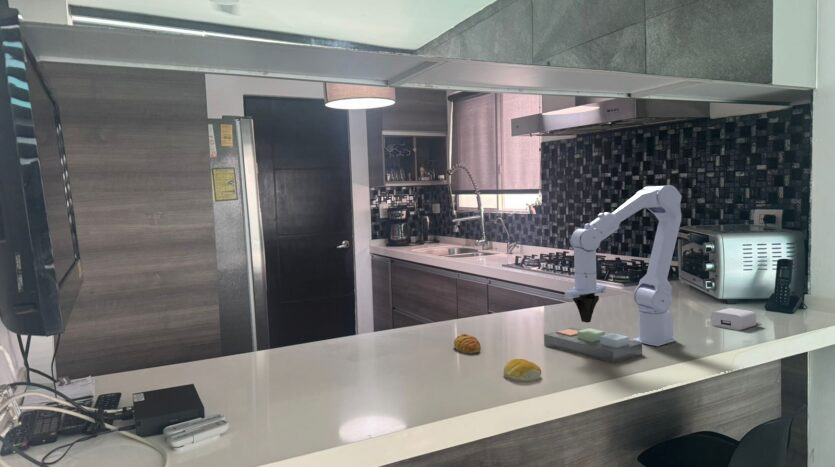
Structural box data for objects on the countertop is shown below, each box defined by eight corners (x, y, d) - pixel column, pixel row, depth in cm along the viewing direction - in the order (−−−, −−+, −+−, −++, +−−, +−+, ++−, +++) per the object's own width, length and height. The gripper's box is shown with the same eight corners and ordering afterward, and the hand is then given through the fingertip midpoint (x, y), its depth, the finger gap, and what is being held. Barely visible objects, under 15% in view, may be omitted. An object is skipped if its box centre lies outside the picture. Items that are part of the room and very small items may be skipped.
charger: (766, 323, 174) (741, 331, 166) (736, 319, 181) (710, 326, 173) (766, 309, 173) (741, 315, 165) (736, 304, 181) (710, 311, 173)
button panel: (572, 337, 164) (572, 327, 164) (642, 354, 145) (642, 343, 145) (544, 344, 157) (544, 334, 157) (613, 363, 138) (613, 351, 138)
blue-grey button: (612, 344, 148) (612, 333, 148) (628, 348, 144) (628, 336, 144) (600, 347, 146) (600, 336, 145) (616, 351, 141) (616, 340, 141)
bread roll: (525, 369, 137) (525, 353, 137) (546, 379, 129) (546, 362, 128) (496, 373, 134) (496, 357, 134) (516, 385, 126) (515, 367, 125)
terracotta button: (568, 339, 161) (568, 328, 161) (582, 342, 157) (582, 332, 157) (556, 342, 158) (556, 331, 158) (570, 345, 154) (570, 335, 154)
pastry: (487, 353, 151) (486, 339, 151) (464, 356, 149) (463, 342, 149) (472, 345, 160) (472, 332, 160) (451, 348, 158) (450, 334, 158)
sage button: (589, 338, 155) (589, 328, 154) (604, 342, 150) (604, 331, 150) (577, 341, 152) (577, 331, 152) (592, 345, 148) (592, 334, 147)
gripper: (591, 268, 159) (591, 315, 160) (555, 274, 151) (556, 323, 152) (611, 270, 153) (612, 319, 154) (575, 276, 145) (576, 327, 146)
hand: (586, 321), depth 152 cm, fingers closed
